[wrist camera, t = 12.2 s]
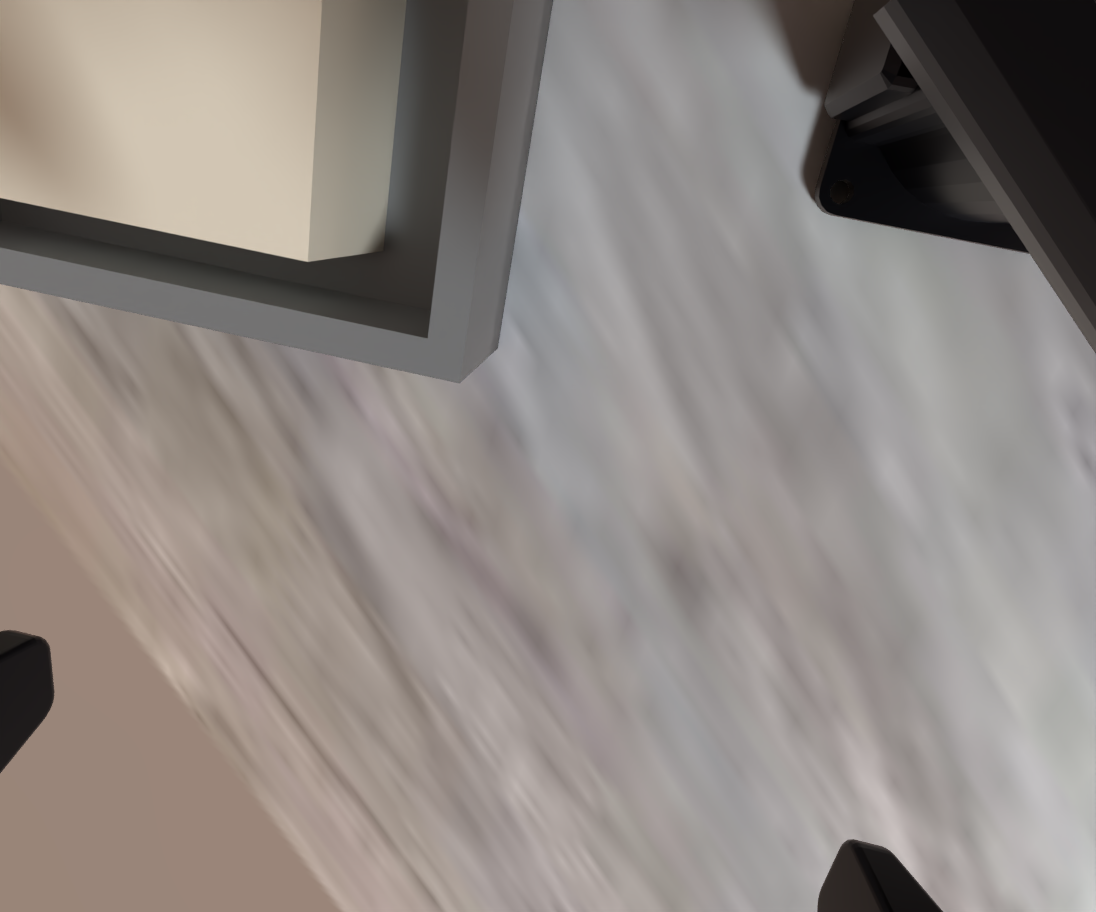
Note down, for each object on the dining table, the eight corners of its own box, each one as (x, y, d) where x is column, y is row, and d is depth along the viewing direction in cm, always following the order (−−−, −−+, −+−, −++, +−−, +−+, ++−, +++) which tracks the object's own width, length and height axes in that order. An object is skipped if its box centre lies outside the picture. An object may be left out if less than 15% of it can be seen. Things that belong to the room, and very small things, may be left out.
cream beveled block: (415, -93, 14) (333, -203, 10) (383, 250, 17) (307, 261, 13) (57, -156, 15) (-143, -282, 11) (78, 188, 17) (-80, 181, 13)
